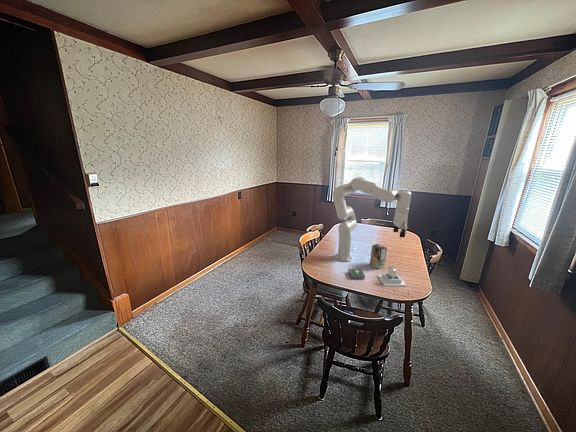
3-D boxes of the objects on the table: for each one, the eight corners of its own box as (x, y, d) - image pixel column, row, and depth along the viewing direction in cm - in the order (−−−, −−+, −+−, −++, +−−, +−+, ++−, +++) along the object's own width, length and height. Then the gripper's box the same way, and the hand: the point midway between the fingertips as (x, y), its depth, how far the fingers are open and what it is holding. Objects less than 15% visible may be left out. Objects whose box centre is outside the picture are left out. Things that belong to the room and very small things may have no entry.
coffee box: (385, 267, 171) (387, 247, 166) (379, 269, 168) (381, 249, 163) (375, 262, 178) (377, 243, 174) (369, 264, 175) (371, 245, 171)
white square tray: (377, 276, 159) (378, 271, 158) (397, 276, 159) (398, 271, 158) (384, 286, 147) (384, 281, 146) (405, 286, 147) (406, 281, 146)
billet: (386, 277, 155) (387, 266, 153) (393, 277, 155) (394, 267, 153) (389, 281, 150) (390, 270, 148) (396, 281, 150) (398, 270, 148)
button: (352, 274, 161) (353, 269, 160) (357, 274, 161) (358, 269, 160) (354, 276, 157) (354, 272, 156) (359, 277, 157) (359, 272, 156)
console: (348, 272, 163) (348, 268, 163) (360, 272, 163) (361, 269, 162) (351, 279, 155) (351, 275, 154) (364, 279, 155) (364, 275, 154)
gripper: (391, 206, 157) (388, 230, 161) (402, 213, 140) (398, 239, 145) (402, 206, 157) (398, 230, 161) (414, 213, 140) (410, 239, 145)
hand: (398, 234), depth 153 cm, fingers open, 9 cm apart
